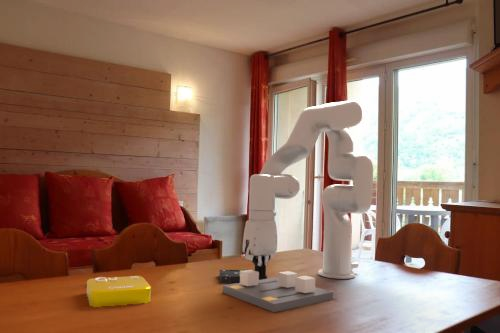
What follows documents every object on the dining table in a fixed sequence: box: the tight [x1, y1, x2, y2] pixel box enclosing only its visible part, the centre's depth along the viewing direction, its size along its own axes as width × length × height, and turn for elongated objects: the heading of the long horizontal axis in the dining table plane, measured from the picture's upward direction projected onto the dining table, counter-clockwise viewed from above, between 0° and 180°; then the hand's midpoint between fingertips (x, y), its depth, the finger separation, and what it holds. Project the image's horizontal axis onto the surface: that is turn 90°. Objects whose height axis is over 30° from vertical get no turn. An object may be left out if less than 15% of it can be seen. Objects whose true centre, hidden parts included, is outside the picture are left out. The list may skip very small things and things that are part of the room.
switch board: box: [222, 276, 334, 313], centre depth 125 cm, size 22×22×2 cm
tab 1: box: [240, 269, 259, 286], centre depth 128 cm, size 4×4×4 cm
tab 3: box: [295, 275, 316, 293], centre depth 122 cm, size 4×4×4 cm
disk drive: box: [219, 269, 268, 284], centre depth 144 cm, size 10×3×15 cm
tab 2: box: [278, 270, 298, 288], centre depth 127 cm, size 4×4×4 cm
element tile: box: [86, 275, 152, 308], centre depth 118 cm, size 15×15×5 cm
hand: (259, 278), depth 130 cm, fingers closed
